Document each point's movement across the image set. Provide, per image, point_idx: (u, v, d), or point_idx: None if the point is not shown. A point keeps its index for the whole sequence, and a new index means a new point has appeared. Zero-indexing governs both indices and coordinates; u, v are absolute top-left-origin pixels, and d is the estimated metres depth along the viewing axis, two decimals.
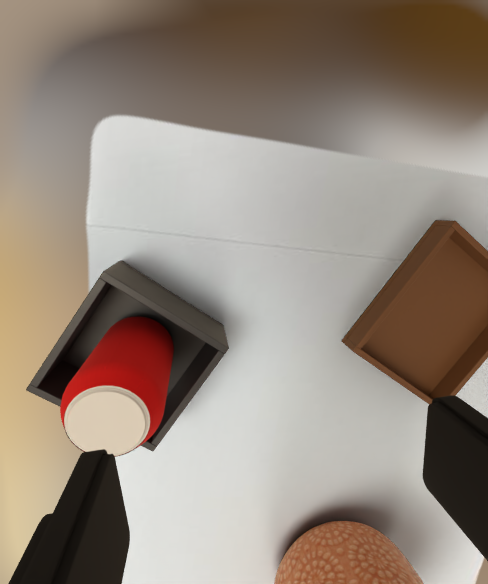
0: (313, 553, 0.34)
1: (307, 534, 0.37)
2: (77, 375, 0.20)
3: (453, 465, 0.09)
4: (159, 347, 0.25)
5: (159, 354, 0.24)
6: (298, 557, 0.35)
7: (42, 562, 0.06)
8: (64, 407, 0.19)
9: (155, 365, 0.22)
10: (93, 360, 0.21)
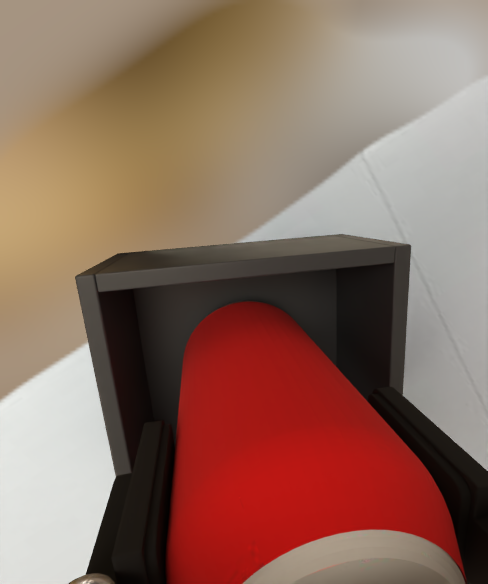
0: None
1: None
2: (353, 434, 0.06)
3: None
4: None
5: None
6: None
7: (135, 504, 0.07)
8: (299, 517, 0.05)
9: None
10: (360, 407, 0.07)
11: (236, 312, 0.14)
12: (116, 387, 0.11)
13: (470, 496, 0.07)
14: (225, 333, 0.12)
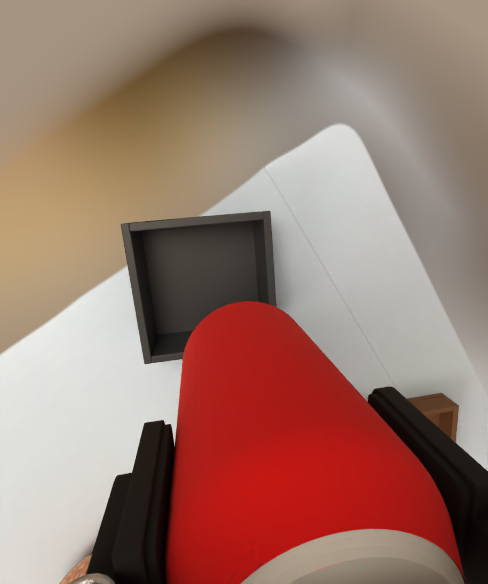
0: None
1: None
2: (352, 433, 0.06)
3: None
4: None
5: None
6: None
7: (135, 504, 0.07)
8: (298, 516, 0.05)
9: None
10: (359, 407, 0.07)
11: (235, 312, 0.14)
12: (137, 276, 0.25)
13: (470, 496, 0.07)
14: (225, 333, 0.12)
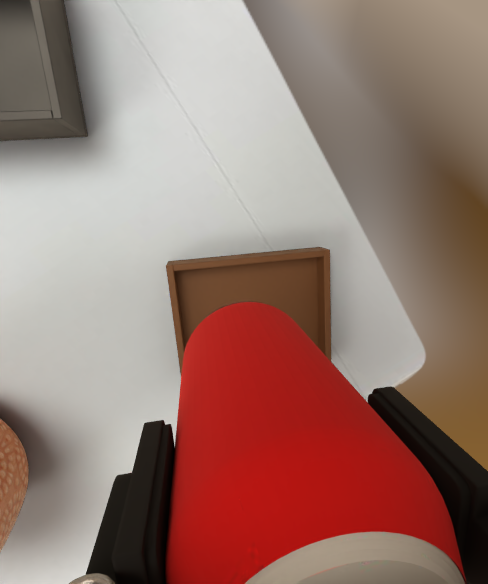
0: None
1: None
2: (353, 435, 0.06)
3: None
4: None
5: None
6: None
7: (135, 504, 0.07)
8: (299, 519, 0.05)
9: None
10: (360, 408, 0.07)
11: (235, 313, 0.14)
12: None
13: (470, 496, 0.07)
14: (225, 334, 0.12)
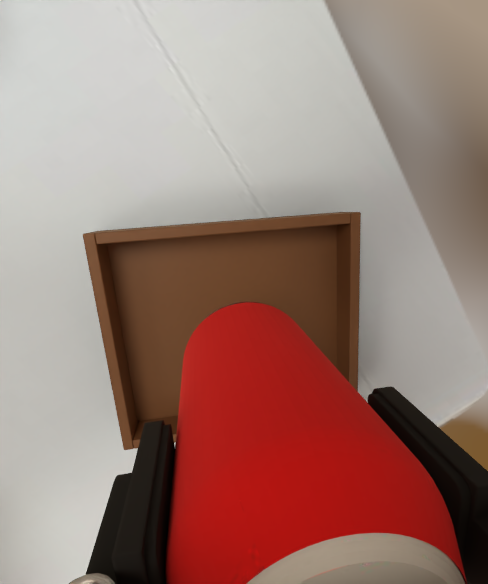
0: None
1: None
2: (354, 436, 0.06)
3: None
4: None
5: None
6: None
7: (135, 504, 0.07)
8: (300, 520, 0.05)
9: None
10: (360, 409, 0.07)
11: (236, 313, 0.14)
12: None
13: (470, 496, 0.07)
14: (225, 334, 0.12)
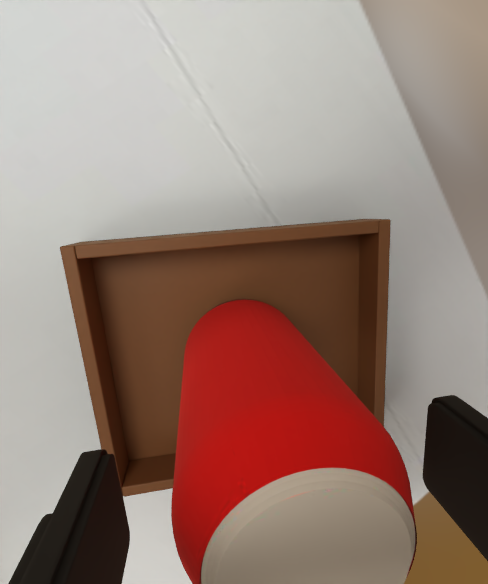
0: None
1: None
2: (325, 400, 0.08)
3: (453, 465, 0.09)
4: None
5: None
6: None
7: (42, 562, 0.06)
8: (278, 459, 0.07)
9: None
10: (334, 383, 0.09)
11: (232, 309, 0.15)
12: None
13: None
14: (222, 326, 0.13)
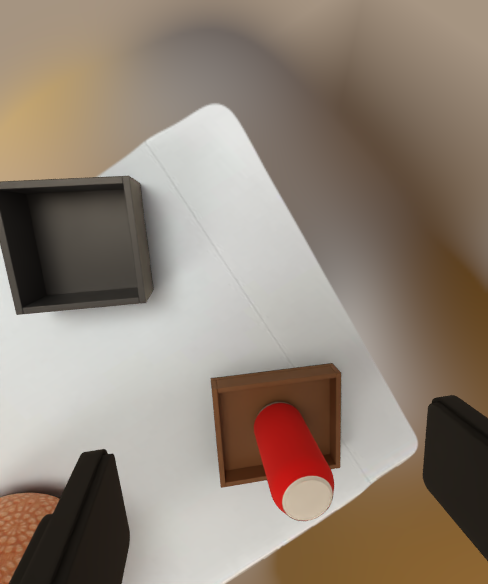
0: (32, 509, 0.34)
1: (41, 494, 0.37)
2: (311, 458, 0.30)
3: (453, 465, 0.09)
4: None
5: None
6: (17, 503, 0.34)
7: (42, 562, 0.06)
8: (300, 473, 0.29)
9: None
10: (314, 451, 0.31)
11: (276, 410, 0.37)
12: (5, 231, 0.27)
13: None
14: (275, 422, 0.36)
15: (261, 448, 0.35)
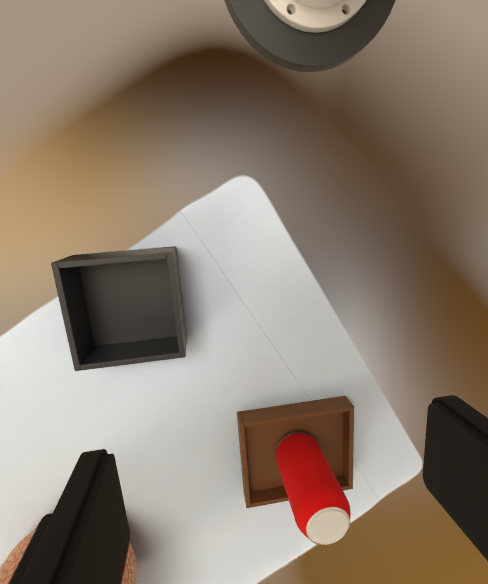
0: None
1: None
2: (330, 490, 0.35)
3: (453, 465, 0.09)
4: None
5: None
6: None
7: (42, 562, 0.06)
8: (321, 505, 0.34)
9: None
10: (332, 483, 0.36)
11: (296, 441, 0.42)
12: (66, 302, 0.32)
13: None
14: (296, 453, 0.40)
15: (284, 477, 0.39)
